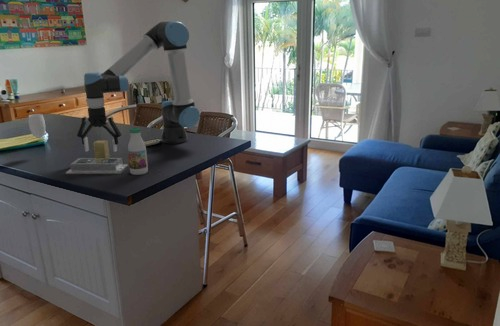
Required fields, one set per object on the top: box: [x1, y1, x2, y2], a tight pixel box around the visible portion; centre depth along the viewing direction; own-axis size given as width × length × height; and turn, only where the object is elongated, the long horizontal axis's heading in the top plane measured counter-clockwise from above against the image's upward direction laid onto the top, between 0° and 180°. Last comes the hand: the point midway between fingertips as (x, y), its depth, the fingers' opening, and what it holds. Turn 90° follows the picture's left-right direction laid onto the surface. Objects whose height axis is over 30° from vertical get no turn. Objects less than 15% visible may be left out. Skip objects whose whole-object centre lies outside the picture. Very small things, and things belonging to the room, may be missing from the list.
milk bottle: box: [127, 127, 149, 176], centre depth 176 cm, size 8×8×20 cm
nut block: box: [93, 139, 111, 158], centre depth 193 cm, size 5×5×10 cm
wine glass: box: [28, 113, 46, 139], centre depth 202 cm, size 7×7×21 cm
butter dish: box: [65, 157, 129, 175], centre depth 182 cm, size 24×12×4 cm, turn 89°
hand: (101, 151), depth 193 cm, fingers open, 13 cm apart
